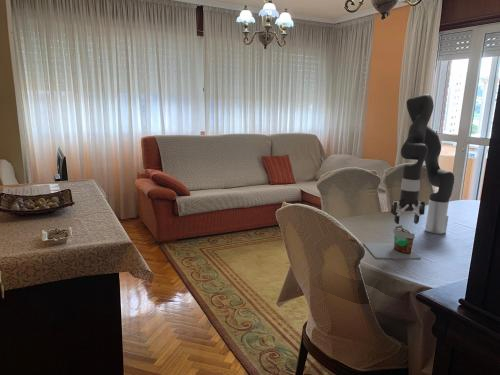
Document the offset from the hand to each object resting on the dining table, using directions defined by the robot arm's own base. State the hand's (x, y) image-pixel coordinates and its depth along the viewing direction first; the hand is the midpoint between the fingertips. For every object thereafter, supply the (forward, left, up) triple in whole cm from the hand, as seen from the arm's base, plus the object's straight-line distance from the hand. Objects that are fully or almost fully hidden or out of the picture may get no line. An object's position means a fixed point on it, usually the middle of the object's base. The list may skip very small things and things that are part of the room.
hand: (406, 223), depth 166 cm
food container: (+2, 0, -13) cm, 13 cm away
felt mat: (+5, 0, -14) cm, 15 cm away
